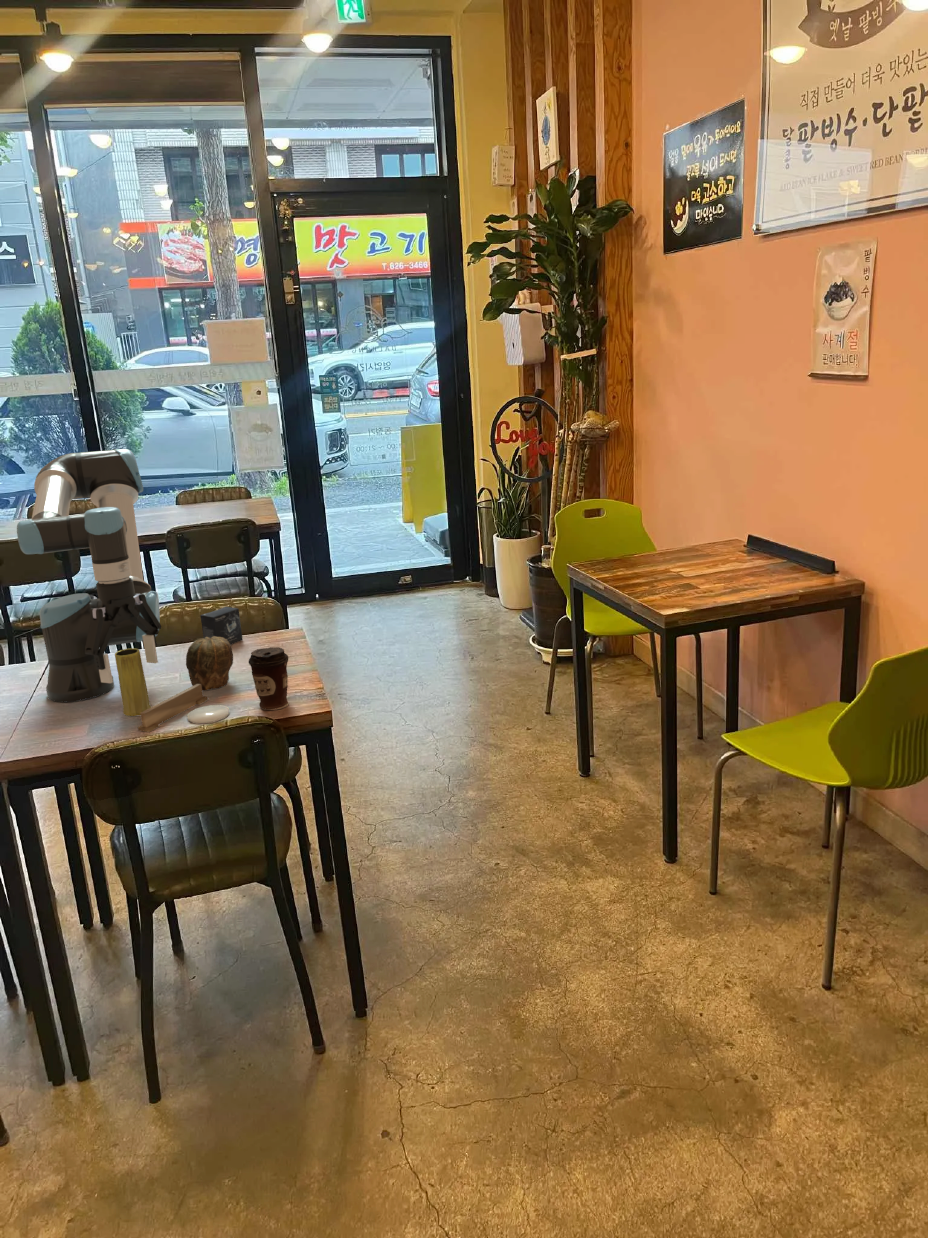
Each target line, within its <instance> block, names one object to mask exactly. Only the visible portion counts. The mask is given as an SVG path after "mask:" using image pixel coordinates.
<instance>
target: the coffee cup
mask: <svg viewBox="0 0 928 1238" xmlns="http://www.w3.org/2000/svg"><path fill="white" fill-rule="evenodd" d="M289 659H290V658H289V655H288V654H287V653H285V649H284V648H282V647H278V646H277V647H272V646H271V647H266V648H257V649H255V650H253V651H251V653H250V657H249V658H248V664H249V666H250V668H251V676H252V679H253V683H254V687H255V690H256V691H255V693H256V695H257V696H258V698H259V704H258V705H259V708H260V709H262V710H266V711H267V710H268V711H276V710H281V709H284V708H287V707H288V705H289V700H288V698H287V697H288V688H289V685H288V684H289V683H288V682H289V680H288V669H287V666H288V662H289Z"/></svg>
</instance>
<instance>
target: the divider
mask: <svg viewBox="0 0 928 1238" xmlns="http://www.w3.org/2000/svg"><path fill="white" fill-rule="evenodd" d="M207 701H209V697H208V696H205V695H204V693H203V691H202V686H201V684H196V685H194V686H192V685H191V686H190V687H188V688H186V689H184V690H182V691H179V693H176V694H175V695H173V696H170V697H169V698H166V699H165V700H162V701H161V702H159V703H157V704H155V705H153V706H151V708H149V709H147V710H145V711H143V712H141V713H140V715H139V716H140V719H141V725H140V726H137V731H138V732H144V733H150V732H152V731H154V730H156V729H157V728H160V725H161V724H162V723H165V722H167V721H168V720H170V719H172V718H174V717H176V716H179V714H182V713H183V712H184V711H187V710H189V709H191V708H192V707H194V706H196V705H199V706H200V705H203V703H205V702H207Z"/></svg>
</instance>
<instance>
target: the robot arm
mask: <svg viewBox="0 0 928 1238" xmlns="http://www.w3.org/2000/svg"><path fill="white" fill-rule="evenodd" d="M33 487H34V492H35V495H36V496H35V497H36V498H35V501H34V504H33V505H34V506H33V510H32V515H31V519H30V518H28V519H27V520H26V519H25V520H20V521H18V523H17V525H16V536H17V541H18V546H19V548H20V551H21V552H22V553H23V554H25V555H35V554H37V555H43V554H49V553H57V552H64V551H72V550H82V549H83V550H84V549H89V551H90V552H89V553H90V556H91V557H90V558H91V564H92V570H93V574H94V580H95V581H96V585H95V586H96V587H95V588H96V592H97V597H98V598H94V599H93V598H91V597H92V596H90V594H89V593H86V592H82V593H78V592H77V593H74V594H69V595H65V596H62V597H58V598H56V599H53V600H51V601H48V602H47V603H45V604H44V605H43V606H41V608H40V610H39V619H40V620H39V621H40V629H41V631H42V635H43V640H44V645H45V646H44V647H45V650H46V655H47V660H48V665H49V669H48V674H47V675H48V676H47V684H46V687H45V689H46V690H45V691H46V695H47V699H48V700H49V701H52V702H56V703H71V702H79V701H80V702H81V701H85V700H89V699H93V698H96V697H99V696H102V695H104V694H106V693H109V691H112V689H113V688H114V687H115V682H114V677H113V675H112V674H113V673H112V668H111V664H110V659H109V654H108V653H106V652H105V651H106V649H107V647H108V646H115V645H116V646H117V645H124V644H130V643H137V642H138V643H141V642H143V643H142V644H143V648H144V655H145V661H146V663H149V664H150V663H151V664H157V663H159V661H158V654H157V649H156V648H157V646H158V645H157V643H158V642H157V638H156V637H157V636H158V635H159V631H160V630H161V629H162V625H161V623H160V619H161V617H160V615H161V614H160V613H161V612H160V611H161V610H160V599H159V594H158V592H157V590H155V591H154V590H152V587H151V585H150V584H149V583H148V582H146V581H144V574H143V566H142V559H141V551H140V546H139V545H140V543H139V538H138V537H139V536H138V530H137V522H136V515H135V507H134V504H135V503H136V502H137V501H138V500H139V494H141V493H143V492H144V486H143V481H142V478H141V475H140V470H139V466H138V463H137V460H136V456H135V453H133V452H132V450H130V449H128V448H122V449H121V448H119V449H117V448H112V449H111V450H110V449H109V450H96V451H81V452H70V453H69V452H68V453H65V454H63V455H60V456H58V457H56V458H54V459H53V460H50V461H49V462H48V463H47V464H45V465H44V466H43V467H42V468H40V470H39V472H38V473H37V475H36V476H35V480H34V485H33ZM87 498H88V499H89V498H90V502H91V503H92V504H93V505H94V506H95V508H91V509H88V510H85V512H84V514H75V515H74V514H73V515H70V509H71V508H70V507H71V501H73V500H75V499H76V500H78V499H87ZM96 507H97V508H96Z"/></svg>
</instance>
